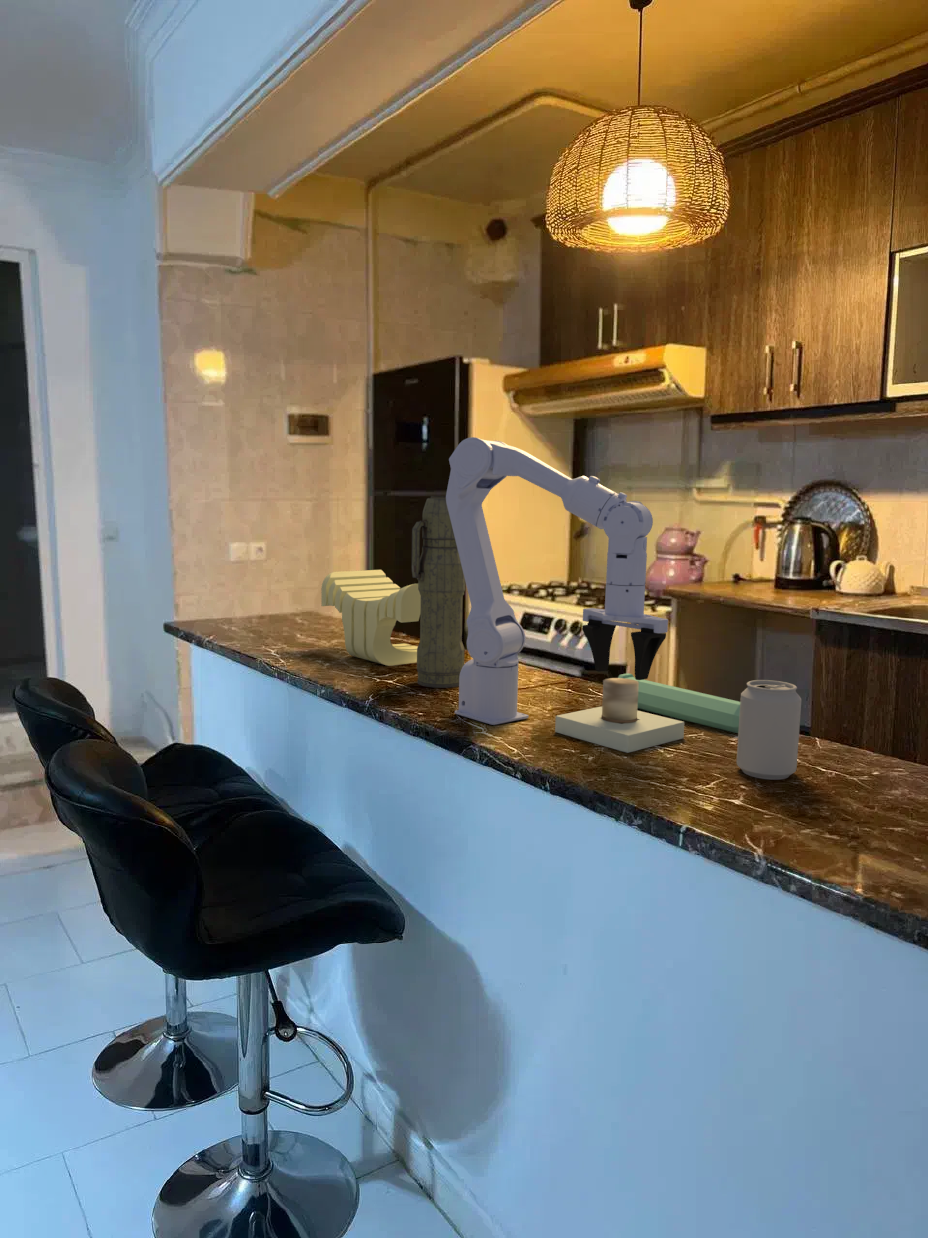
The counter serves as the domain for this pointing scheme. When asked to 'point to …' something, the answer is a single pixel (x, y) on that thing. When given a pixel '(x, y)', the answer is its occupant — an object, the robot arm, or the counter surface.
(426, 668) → the thermos
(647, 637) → the robot arm
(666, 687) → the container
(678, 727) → the board
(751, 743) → the can
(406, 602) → the slatted curved stool
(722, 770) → the counter surface
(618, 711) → the peg
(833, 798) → the counter surface
